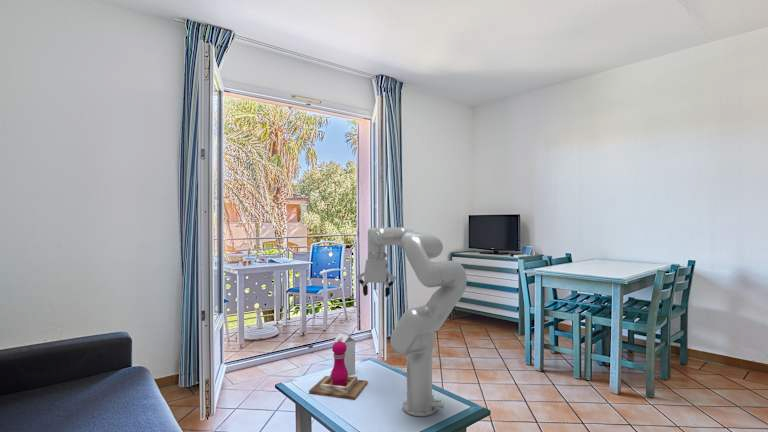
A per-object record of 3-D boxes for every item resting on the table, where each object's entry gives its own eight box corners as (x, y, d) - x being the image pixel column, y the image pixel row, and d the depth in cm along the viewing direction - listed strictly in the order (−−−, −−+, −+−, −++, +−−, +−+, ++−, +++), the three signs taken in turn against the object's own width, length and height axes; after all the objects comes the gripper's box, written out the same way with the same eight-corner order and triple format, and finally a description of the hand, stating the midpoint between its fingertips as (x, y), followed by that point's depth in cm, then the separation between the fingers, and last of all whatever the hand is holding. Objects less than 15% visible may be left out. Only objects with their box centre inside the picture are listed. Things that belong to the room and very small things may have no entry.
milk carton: (346, 369, 187) (346, 329, 187) (355, 373, 182) (355, 332, 182) (333, 373, 182) (333, 332, 182) (343, 377, 177) (343, 335, 177)
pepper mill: (345, 390, 161) (345, 341, 161) (328, 388, 163) (328, 340, 163) (350, 382, 168) (350, 336, 168) (334, 381, 170) (334, 335, 170)
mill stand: (367, 383, 170) (367, 375, 170) (354, 399, 155) (354, 391, 155) (325, 378, 176) (325, 370, 176) (308, 393, 161) (308, 385, 161)
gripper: (397, 255, 171) (397, 295, 171) (360, 255, 176) (360, 293, 176) (393, 257, 164) (393, 298, 164) (354, 256, 169) (354, 296, 169)
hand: (376, 295), depth 170 cm, fingers open, 9 cm apart
